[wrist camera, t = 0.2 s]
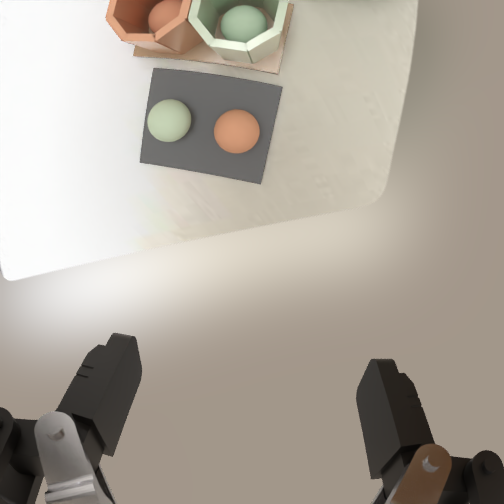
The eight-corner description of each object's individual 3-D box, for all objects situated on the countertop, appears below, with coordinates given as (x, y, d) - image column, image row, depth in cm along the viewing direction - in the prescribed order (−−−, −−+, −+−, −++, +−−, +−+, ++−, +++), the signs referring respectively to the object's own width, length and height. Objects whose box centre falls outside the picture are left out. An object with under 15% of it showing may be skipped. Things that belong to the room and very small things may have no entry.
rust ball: (161, 4, 26) (147, -7, 22) (201, 6, 26) (191, -6, 22) (152, 40, 28) (137, 33, 24) (192, 43, 28) (181, 35, 24)
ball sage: (159, 96, 31) (144, 97, 27) (198, 101, 31) (188, 102, 27) (153, 136, 33) (138, 141, 29) (191, 141, 33) (181, 148, 29)
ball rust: (221, 105, 31) (215, 106, 27) (264, 113, 32) (263, 115, 28) (214, 145, 33) (206, 152, 29) (255, 153, 34) (253, 161, 30)
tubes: (150, -9, 26) (115, -36, 17) (293, 6, 26) (302, -25, 18) (135, 56, 29) (93, 47, 21) (277, 74, 30) (281, 64, 22)
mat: (155, 68, 30) (153, 68, 29) (282, 87, 31) (282, 86, 30) (141, 161, 35) (139, 162, 34) (260, 183, 36) (260, 184, 35)
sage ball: (228, 9, 26) (222, -3, 22) (271, 15, 27) (271, 4, 23) (219, 46, 28) (212, 38, 24) (262, 53, 29) (261, 46, 25)
